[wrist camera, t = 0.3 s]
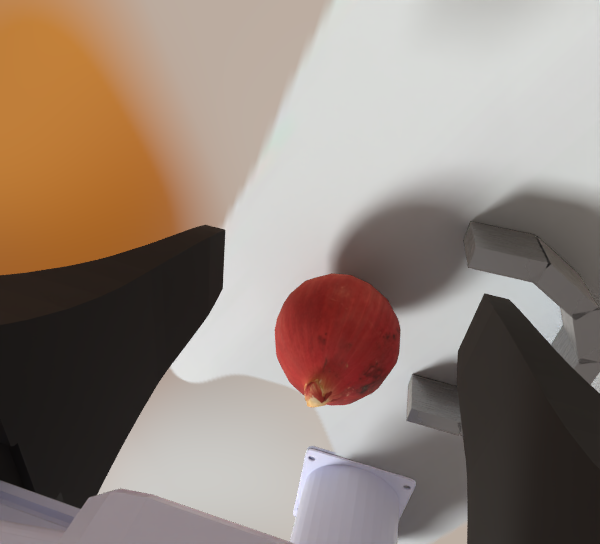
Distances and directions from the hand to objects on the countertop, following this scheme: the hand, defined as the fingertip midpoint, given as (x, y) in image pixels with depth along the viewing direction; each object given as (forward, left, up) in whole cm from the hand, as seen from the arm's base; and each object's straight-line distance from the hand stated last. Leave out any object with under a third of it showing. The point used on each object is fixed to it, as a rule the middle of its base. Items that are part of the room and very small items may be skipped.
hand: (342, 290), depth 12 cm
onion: (-6, 0, -10) cm, 12 cm away
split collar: (-6, -6, -9) cm, 13 cm away
